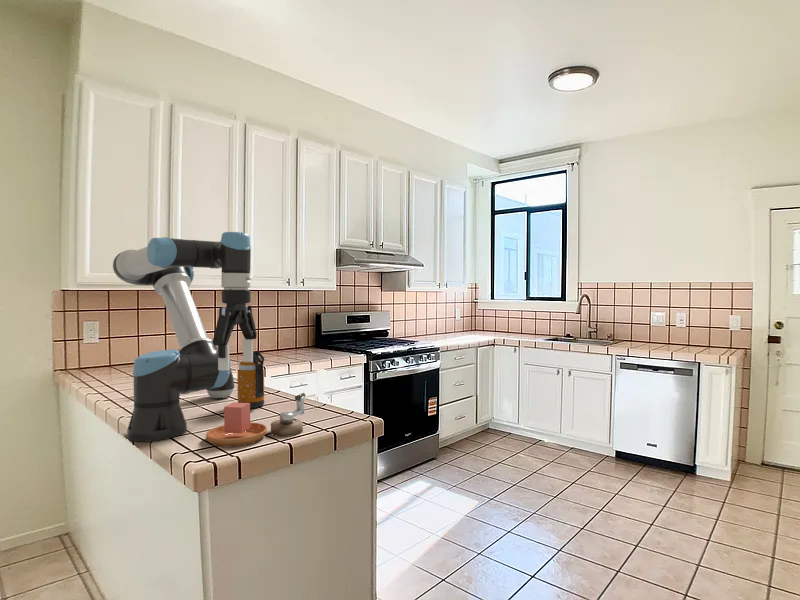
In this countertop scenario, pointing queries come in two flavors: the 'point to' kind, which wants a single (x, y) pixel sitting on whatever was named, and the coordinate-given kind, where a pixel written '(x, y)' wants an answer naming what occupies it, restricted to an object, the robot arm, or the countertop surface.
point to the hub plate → (286, 428)
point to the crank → (289, 416)
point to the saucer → (236, 435)
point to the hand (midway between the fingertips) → (236, 365)
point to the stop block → (236, 417)
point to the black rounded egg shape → (223, 388)
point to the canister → (251, 381)
